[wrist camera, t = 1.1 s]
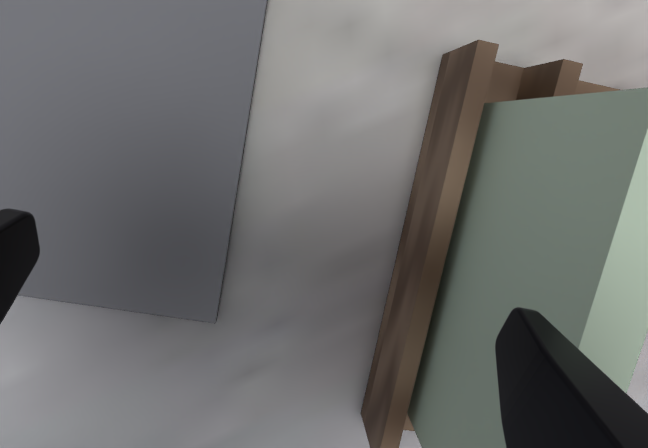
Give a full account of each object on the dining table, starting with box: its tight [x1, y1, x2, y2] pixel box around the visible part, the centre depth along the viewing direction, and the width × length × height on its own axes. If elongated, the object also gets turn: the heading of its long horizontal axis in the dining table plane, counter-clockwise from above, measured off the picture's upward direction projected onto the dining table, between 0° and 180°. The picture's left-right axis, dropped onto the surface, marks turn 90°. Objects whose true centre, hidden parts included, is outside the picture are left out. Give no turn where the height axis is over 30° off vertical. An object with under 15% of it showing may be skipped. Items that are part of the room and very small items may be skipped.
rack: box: [361, 40, 619, 448], centre depth 22 cm, size 18×9×4 cm, turn 169°
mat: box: [0, 0, 268, 323], centre depth 20 cm, size 18×12×1 cm, turn 169°
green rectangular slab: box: [407, 88, 648, 448], centre depth 17 cm, size 14×2×11 cm, turn 169°
